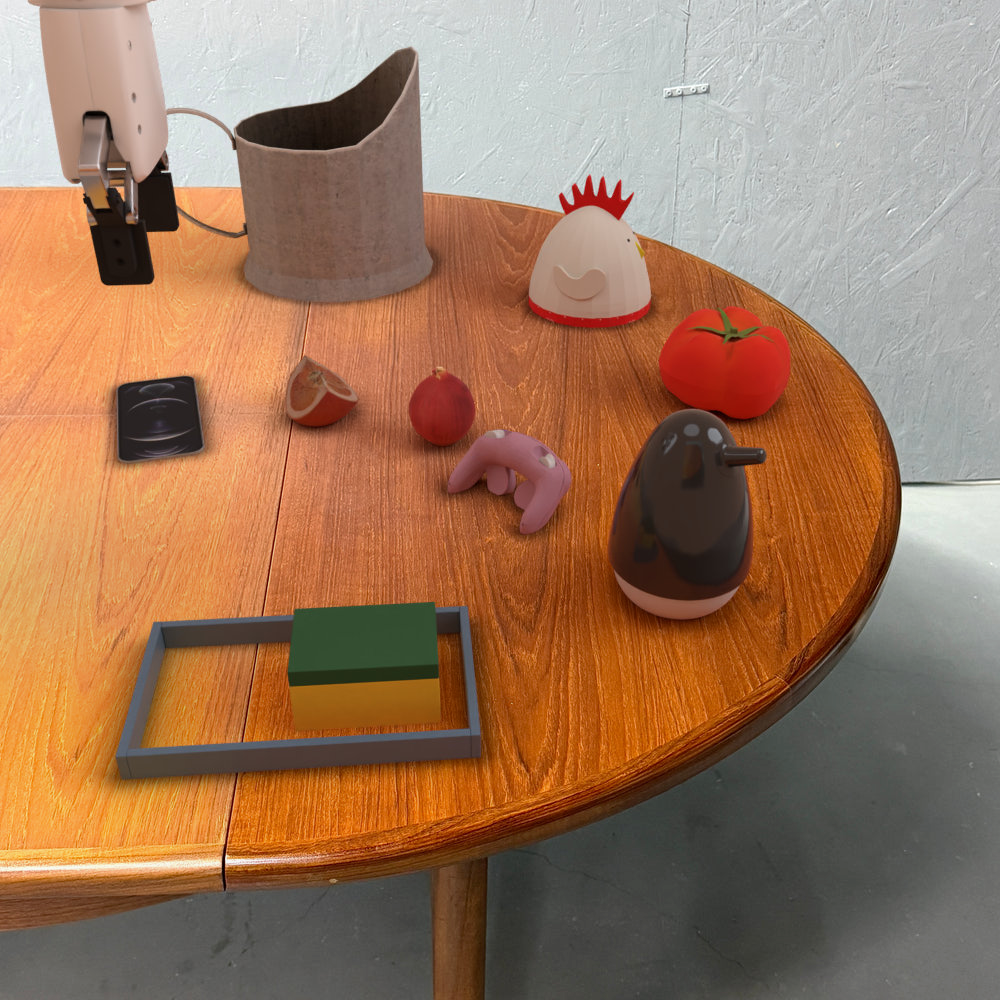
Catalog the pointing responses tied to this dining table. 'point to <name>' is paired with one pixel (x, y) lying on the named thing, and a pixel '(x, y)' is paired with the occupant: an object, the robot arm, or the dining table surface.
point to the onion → (442, 408)
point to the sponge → (364, 666)
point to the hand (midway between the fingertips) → (143, 255)
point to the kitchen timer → (591, 264)
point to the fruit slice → (317, 394)
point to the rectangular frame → (288, 751)
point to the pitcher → (335, 190)
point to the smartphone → (158, 420)
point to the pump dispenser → (685, 518)
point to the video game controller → (500, 460)
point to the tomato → (726, 362)
